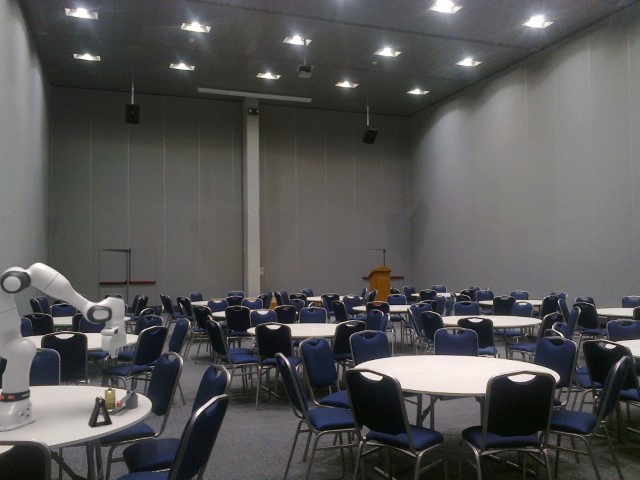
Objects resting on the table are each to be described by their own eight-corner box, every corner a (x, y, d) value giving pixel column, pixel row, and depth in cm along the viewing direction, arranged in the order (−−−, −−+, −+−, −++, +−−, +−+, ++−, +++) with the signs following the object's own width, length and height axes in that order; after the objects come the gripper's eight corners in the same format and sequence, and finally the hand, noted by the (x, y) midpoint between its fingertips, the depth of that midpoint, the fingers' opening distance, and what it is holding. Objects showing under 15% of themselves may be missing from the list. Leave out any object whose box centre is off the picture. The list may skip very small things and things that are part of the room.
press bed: (114, 415, 269) (114, 412, 269) (94, 414, 270) (94, 412, 270) (125, 408, 281) (125, 405, 281) (105, 408, 282) (105, 405, 282)
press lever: (129, 395, 284) (129, 389, 284) (135, 395, 284) (134, 389, 284) (115, 408, 267) (115, 402, 267) (121, 408, 267) (120, 402, 267)
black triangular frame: (108, 421, 259) (108, 395, 260) (112, 424, 254) (112, 397, 255) (88, 424, 254) (88, 397, 254) (91, 427, 249) (91, 400, 249)
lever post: (134, 408, 280) (134, 391, 281) (125, 408, 281) (125, 390, 281) (137, 406, 285) (137, 388, 285) (128, 406, 285) (128, 388, 285)
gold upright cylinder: (112, 410, 273) (112, 388, 273) (102, 410, 273) (102, 388, 273) (117, 407, 278) (117, 386, 278) (107, 407, 278) (107, 386, 278)
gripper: (118, 327, 288) (117, 354, 287) (99, 331, 268) (98, 360, 267) (130, 327, 287) (129, 354, 287) (111, 331, 267) (111, 361, 266)
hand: (114, 357), depth 277 cm, fingers closed
